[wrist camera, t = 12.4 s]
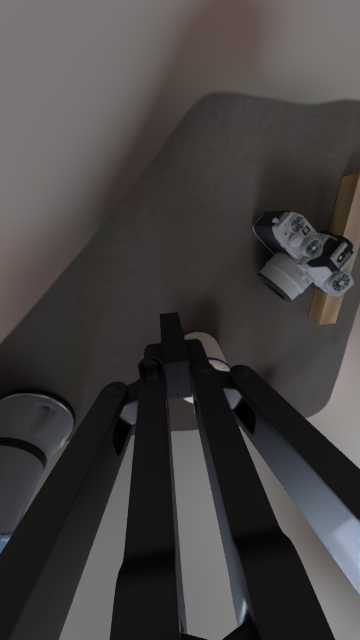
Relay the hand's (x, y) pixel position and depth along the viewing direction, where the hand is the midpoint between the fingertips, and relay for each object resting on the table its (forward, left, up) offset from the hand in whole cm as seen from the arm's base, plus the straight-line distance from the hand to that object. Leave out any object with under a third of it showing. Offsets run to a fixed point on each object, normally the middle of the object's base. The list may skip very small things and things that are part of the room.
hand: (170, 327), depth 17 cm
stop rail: (+28, +1, -17) cm, 32 cm away
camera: (+19, +1, -17) cm, 25 cm away
